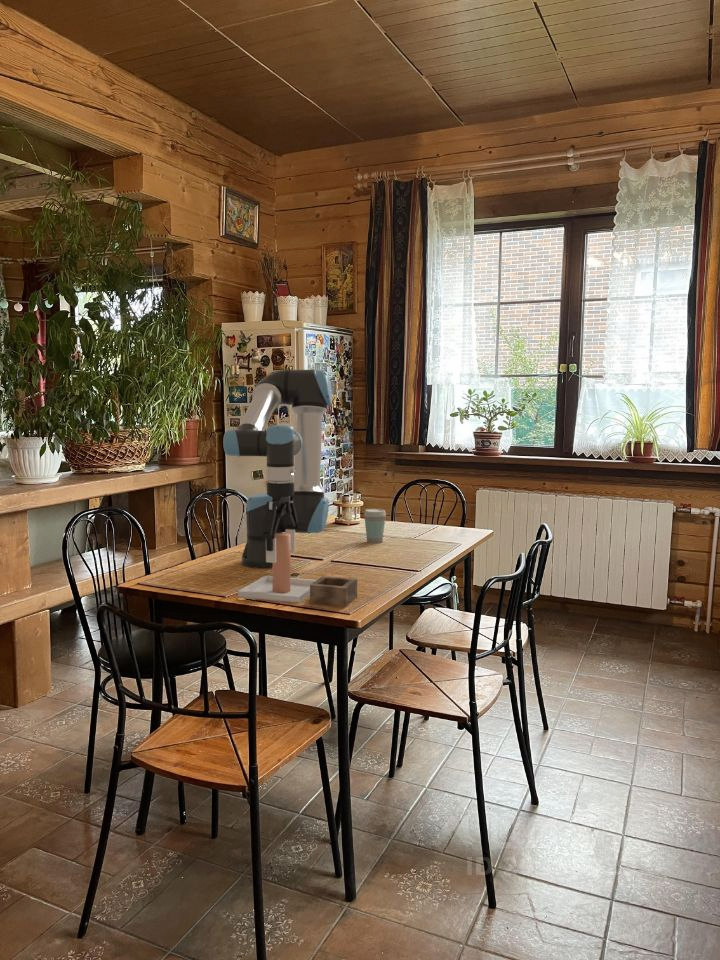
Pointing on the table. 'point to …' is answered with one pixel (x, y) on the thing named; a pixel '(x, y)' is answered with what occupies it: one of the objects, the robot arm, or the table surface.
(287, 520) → the robot arm
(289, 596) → the tray
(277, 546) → the peg
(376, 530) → the coffee cup
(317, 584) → the socket block
